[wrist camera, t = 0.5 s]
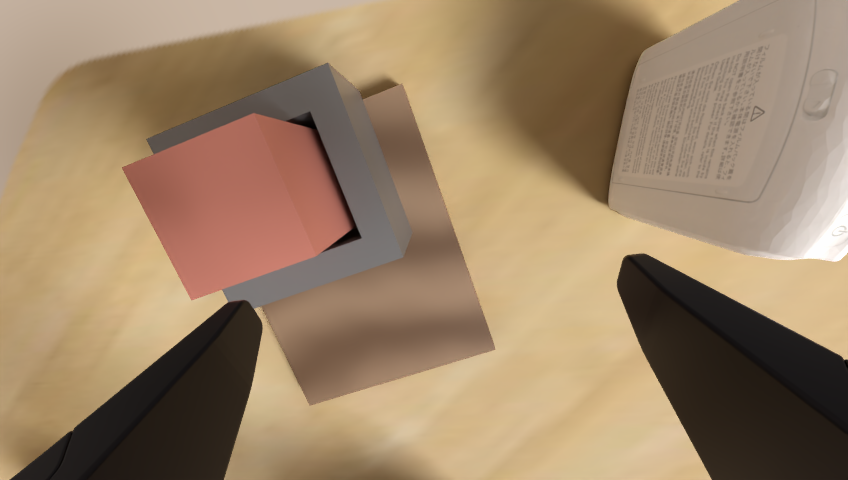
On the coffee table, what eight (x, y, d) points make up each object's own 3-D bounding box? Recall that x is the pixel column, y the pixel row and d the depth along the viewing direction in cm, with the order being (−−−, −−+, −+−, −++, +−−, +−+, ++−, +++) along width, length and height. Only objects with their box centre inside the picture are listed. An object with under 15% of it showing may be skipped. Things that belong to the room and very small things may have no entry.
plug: (356, 225, 18) (316, 256, 12) (269, 256, 19) (191, 300, 13) (317, 130, 17) (253, 112, 11) (227, 165, 18) (122, 167, 12)
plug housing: (412, 232, 22) (403, 257, 16) (286, 276, 23) (235, 314, 17) (359, 91, 21) (327, 62, 15) (225, 145, 22) (146, 139, 16)
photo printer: (664, 222, 23) (918, 291, 11) (597, 216, 23) (774, 277, 11) (706, 50, 21) (1087, -110, 8) (632, 43, 21) (904, -124, 9)
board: (492, 340, 25) (495, 349, 24) (315, 394, 27) (309, 405, 25) (404, 87, 22) (402, 83, 20) (206, 166, 23) (194, 167, 22)
